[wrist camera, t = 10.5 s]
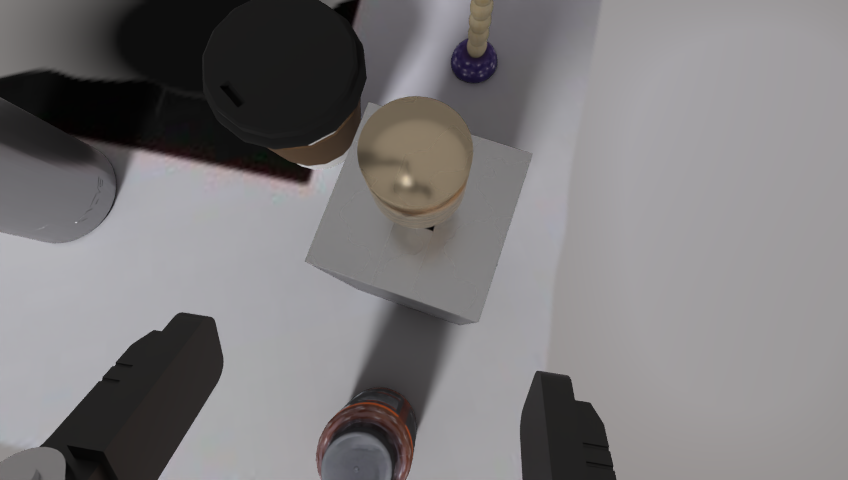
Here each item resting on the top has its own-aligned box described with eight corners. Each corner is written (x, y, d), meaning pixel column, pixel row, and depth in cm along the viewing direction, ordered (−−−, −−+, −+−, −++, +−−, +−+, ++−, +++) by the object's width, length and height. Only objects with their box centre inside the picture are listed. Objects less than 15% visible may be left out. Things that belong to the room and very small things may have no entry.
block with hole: (357, 289, 38) (304, 261, 23) (393, 191, 40) (368, 101, 24) (459, 325, 38) (478, 322, 22) (492, 224, 39) (532, 153, 23)
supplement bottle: (335, 396, 37) (292, 425, 26) (407, 378, 37) (396, 399, 26) (350, 474, 35) (313, 540, 24) (425, 455, 36) (421, 512, 25)
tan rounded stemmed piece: (366, 272, 33) (290, 207, 15) (397, 189, 34) (359, 41, 17) (453, 302, 32) (476, 271, 15) (481, 216, 33) (534, 94, 16)
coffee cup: (312, 220, 39) (260, 174, 28) (238, 131, 41) (160, 52, 29) (408, 142, 41) (398, 66, 29) (332, 59, 42) (294, -45, 31)
